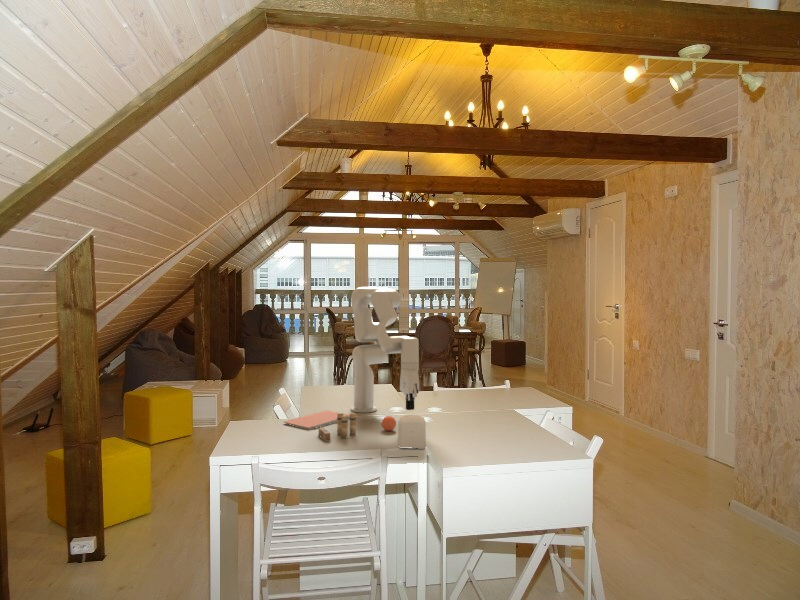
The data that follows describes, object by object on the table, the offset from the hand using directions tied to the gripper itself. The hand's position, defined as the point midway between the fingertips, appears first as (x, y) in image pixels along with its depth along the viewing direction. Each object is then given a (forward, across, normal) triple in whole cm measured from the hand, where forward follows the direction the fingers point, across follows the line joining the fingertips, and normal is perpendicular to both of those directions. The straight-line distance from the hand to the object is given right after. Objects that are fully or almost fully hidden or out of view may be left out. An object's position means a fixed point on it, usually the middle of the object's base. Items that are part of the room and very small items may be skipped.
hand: (410, 409), depth 227 cm
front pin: (+8, -1, -26) cm, 27 cm away
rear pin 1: (+8, -3, -30) cm, 31 cm away
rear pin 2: (+8, +2, -30) cm, 31 cm away
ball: (+5, -1, -10) cm, 11 cm away
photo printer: (+9, +25, -12) cm, 29 cm away
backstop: (+8, -1, -38) cm, 38 cm away
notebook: (+8, -28, -32) cm, 43 cm away
